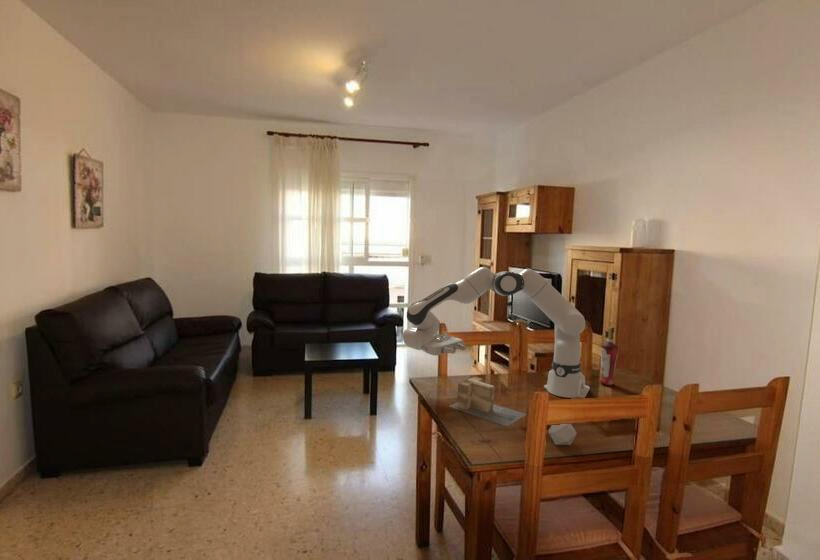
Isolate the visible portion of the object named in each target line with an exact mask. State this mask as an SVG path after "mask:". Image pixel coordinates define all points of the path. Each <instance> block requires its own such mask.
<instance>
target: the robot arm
mask: <svg viewBox="0 0 820 560" xmlns="http://www.w3.org/2000/svg"><path fill="white" fill-rule="evenodd" d="M490 290H491V291H493V292H495V293H496V294H497V295H500V296H503V297H509V296H513V295H515V294H517V293H518V292H521V293H522V294H524V295H525V296H526V297H527V298H528V299H529V300H530V301H531V302H532V303H533V304H534V305H535V306H537V307H538V309H540V311H542V313H544V314H545V316H546V317H547V318H548V319H549V320H550V321H552V323H553V324H554V347H553V348H554V349H553V359H552V362H551V369H550V370H549V371H548V376H547V382H546V384H544V385H543V388H544V389H545V390H547V392H548V393H550V394H552V395H554V396H557V397H560V398H561V397H562V398H567V399H568V398H569V399H572V398H573V399H574V398H578V399H579V398H580V399H581V398H582V399H584V398H586V396H587V394H588V393H589V391H590V386H589V385H586V377H585V375H584V374H583V373H582V372H581V369H582V368H581V367H582V366H583V361H580V358H581V338H580V337H581V335H580V334H582V333H583V332H584V331H585V329H586V320H585V316H584V315H583V314H582V313H581V312H580V311H579V310H578V309H577V308H576V307H575V306H574V305H573V304H571V302H570V301H568V300H567V299H566V298H565V296H564V295H562V294H561V293H560V292H559V291H558V290H557V289H556V288H555V287H554V286H553V285H552V284H551V283H550V282H549V281H548V280H547V279H545V278H544V276H542V275H541V274H540V273H538V272H537V271H535V270H533V269H531V268H525V269H522V270H521V271H520V272H519V273H516V272H514V271H505V270H504V271H499V272H493V271H492V270H491V269H490V268H488V267H486V266H482V267H481V266H480V267H478V268H477V269H474V270H473V271H471V272H470V273H469V274H467V275H466V276H464V277H463V278H462V279H461V280H459V281H457V282H453V283H452V282H451V283H447V284H445V285H444V286H442V287H440V288H438V289H437V290H435V291H434V292H431V294H429V295H427V296H425V297H424V298H422V299H420V300H418V301H416V302H413V303H412V304H410V306H409V307H408V309H407V311H406V319H407V321H408V322H409V323H411V324H412V326H410V327H408V328H406V329H405V330H404V331H403V333H402V340H403V343H404V344H405V346H407V347H408V348H411V349H413V350H418V351H422V352H425V353H426V354H428V355H432V356H440V355H443V354H456V351H457V350H460V351H466V349H467V348H466V347H467V346H466V345H464V340H463V339H462V338H459V337H456V336H452V335H449V333H438V331H439V330H440V329H439V328H440V326H441V323H440V320H439V319H438V317H437V316H436V315H435V313H433V312H432V310H434V309H435V308H436V307H437V306H439V305H441V304H443V303H445V302H447V301H455V302H458V303H460V304H467V305H468V304H471V303H473V302H475V301H476V300H477V299H479V298H480V297H481V296H482V295H483V294H485V293H486V292H488V291H490Z"/></svg>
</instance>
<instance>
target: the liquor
mask: <svg viewBox="0 0 820 560" xmlns="http://www.w3.org/2000/svg"><path fill="white" fill-rule="evenodd" d="M607 327H608V328H607V332H608V333H607V339H606V342H605V343H602V344H601V352H600V375H599V377H600V378H599V380H598V381H599V382H600V384H601V383H602V385H603V384H605V385H604V386H606V385H611V386H613V385H614V384H615V381H614V380H615V372H616V370H615V369H616V364H617V359H618V349H619V346H618V344H617V345H616V344H615V343H614V333H615V327H614V326H607Z"/></svg>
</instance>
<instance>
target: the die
mask: <svg viewBox="0 0 820 560" xmlns="http://www.w3.org/2000/svg"><path fill="white" fill-rule="evenodd" d="M547 433H548V434H549V436H550V437H551V439H552V441H553V443H554V444H556V446H571V445H572V443H573V442H574V439H575V438H576V436H577V432H576V429H575V428H574V426H573V425H572V423H571V424H560V425H552V424H551V425H550V428H549V429H548V432H547Z"/></svg>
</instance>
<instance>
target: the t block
mask: <svg viewBox="0 0 820 560" xmlns="http://www.w3.org/2000/svg"><path fill="white" fill-rule="evenodd" d="M483 381H484V379H483V378H481V377H477V376H472V377H471V378H468V379H465V380H463V381H461V382H458V383H457V398H456V399H457V402H456V403H457V407H459V408H462V409H465V410H466V409H468V408H470V407H472V408H475V409H478V410H481V411H484V412H487V413H488V412H490V411H492V410H493V404H494V400H495V399H494V398H495V397H494V396H495V385H492V384H489V383H485V382H483Z"/></svg>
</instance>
